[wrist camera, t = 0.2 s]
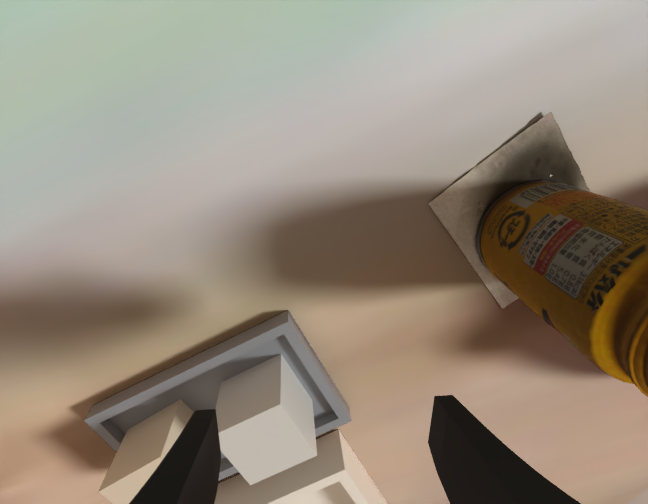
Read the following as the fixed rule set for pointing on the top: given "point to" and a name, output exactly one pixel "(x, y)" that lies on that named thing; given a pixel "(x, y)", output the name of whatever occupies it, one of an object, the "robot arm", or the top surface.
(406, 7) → the top surface
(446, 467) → the robot arm
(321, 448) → the cream dish
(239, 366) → the slate tray
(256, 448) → the light gray cube
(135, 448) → the beige cube
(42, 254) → the top surface
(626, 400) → the top surface
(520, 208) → the condiment
